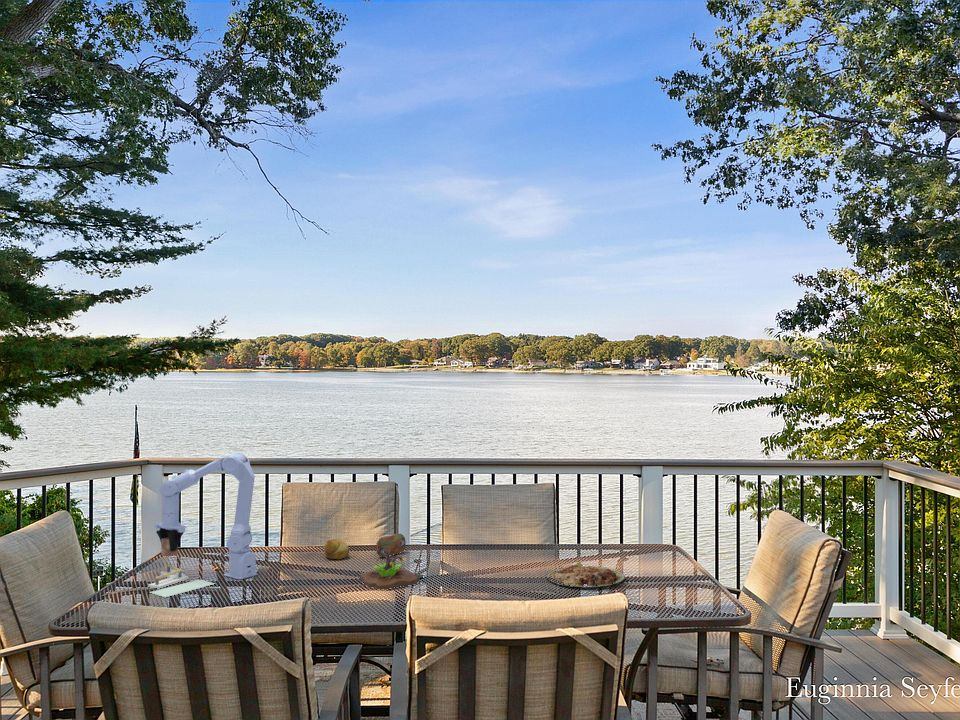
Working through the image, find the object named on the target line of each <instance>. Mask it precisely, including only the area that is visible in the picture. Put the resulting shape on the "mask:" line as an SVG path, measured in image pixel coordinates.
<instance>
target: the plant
mask: <svg viewBox="0 0 960 720" xmlns="http://www.w3.org/2000/svg"><path fill="white" fill-rule="evenodd" d="M383 554H384V555H385V554H386V557H387V558H385V559H386V561H385V562H384V563H383V564H381V563H379V566H377V565H373V567H374V568H375V570H370V571H366V572H362V573H359V580H360V579H361V580H362V582H364V584H363V586H364V585H367V586H368V587H376V588H377V589H389V588H394V587H400V586H408V585H413V584H416V583H417V582H418V581H419V582H420V577H419V576H416V575H417V574H416V573H414V572H412V571H409V570H407V569H405V568H401V566H402V563H398V564H396V565H395V566H394V562H395V561H396V560H398V559H399V561H400V562H404V558H403V557H402V556H395V557H394V558H392V557H389V555H388V552H387V550H384V551H383ZM362 582H361V583H362ZM417 584H418V583H417ZM417 584H416V585H417ZM413 586H414V585H413Z"/></svg>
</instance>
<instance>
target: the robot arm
mask: <svg viewBox="0 0 960 720" xmlns="http://www.w3.org/2000/svg"><path fill="white" fill-rule="evenodd" d="M250 462H251V461H250V459H249V458H248V457H247V456H246V455H245V454H243V453H241V452H236V453H234V454H231V455H230V454H229V455H227V456H224V457H221V458H218V459H214V460H213V461H211V462H210V463H208V464H205V465H204V466H201V467H200V468H198V469H196V470H194V469H184V470H183V473H181V474H178V475H177V476H176V475H174V476H172V477H171V479H168V480H164V482H162V483H161V484H160V486H159V492H160V494H161V495H162V496H161V499H162V500H161V521H159V522H155V524H154V525H155V528H154V529H159V530H156V534H157V536H158V537H159V541H160V544H161V545H162V538H167V537H169V541H170V550H171V551H176V550H177V547H178V548H179V543H180V540H181V538H182V536H183V534H184V533H185V532H186V526H185V525H182V524H181V522H180V521H179V520H180V493H181V492H183V491H185V490H187V489H189V488H191V487H193V486H195V485H197V484H198V483H199V480H200V479H201V478H203V477H206V476H208V475H210V474H211V473H215V472H217V471H219V472H222V471H224V472H226V473H228V474H230V475H232V476H233V477H234V478H235V479H237V481H238V482H239V483H238V488H237V489H238V490H237V491H238V492H237V498H236V499H237V500H236V506H235V515H234V520H233V521H234V523H233V527H231V530H230V535H229V537H228V539H227V541H226V547H227V549H228V573H223V576H224V577H228V578H231V579H236V580H242V579H243V580H244V579H248V578H251V577H255V576H257V575H258V573H256V569H257V568H256V563H257V558H256V555H255V554H254V553H253V552H251V547H250V545H251V544H252V541H253V536H252V533H251V530H252V526H251V525H250V519H251V518H250V517H251V510H252V502H253V494H254V485H255V478H256V477H255V473H254V471H253V468H252V466H251V464H250Z"/></svg>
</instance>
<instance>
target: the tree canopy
mask: <svg viewBox="0 0 960 720" xmlns="http://www.w3.org/2000/svg"><path fill="white" fill-rule="evenodd" d="M406 545H407V544H406V538H405V536H404V535H403V534H401V533H393V534H388V535H385V536H381V537H379V539H377V542H376V546H375V547H376V548H375V549H376V554H377V555H378V556H379V557H380V556H382V557H381V558H384V557H385V556H386V554H385V555H384V554H383V551H384V550H387V552H388V555H393V554H397V553H400V552H402V553H403V552H404V551H405V549H406Z"/></svg>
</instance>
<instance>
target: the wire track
mask: <svg viewBox="0 0 960 720" xmlns="http://www.w3.org/2000/svg"><path fill="white" fill-rule="evenodd" d="M166 577H167V578H166ZM163 578H165V579H163ZM160 579H161V580H160ZM187 579H189V576H188V575H186V574H184V573H183V570H182V569H181V568H178V566H177V567H176V566H175V565H172V564H171V563H168V564H167V566H166V570H165V571H160V572H159V575H158V576H155V582H153V583H149V584H147V588H148V587H150V588H149V589H153V588H157V589H156V590H160V588H162V589H164V588H163V587H165V588H167V587H166V586H168V587H170V586H169V585H171V586H173V585H172V584H174V585H176V584H175V583H177V584H179V583H178V582H180V583H182V582H181V581H183V582H185V581H184V580H186V581H188V580H187ZM189 580H190V579H189Z"/></svg>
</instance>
